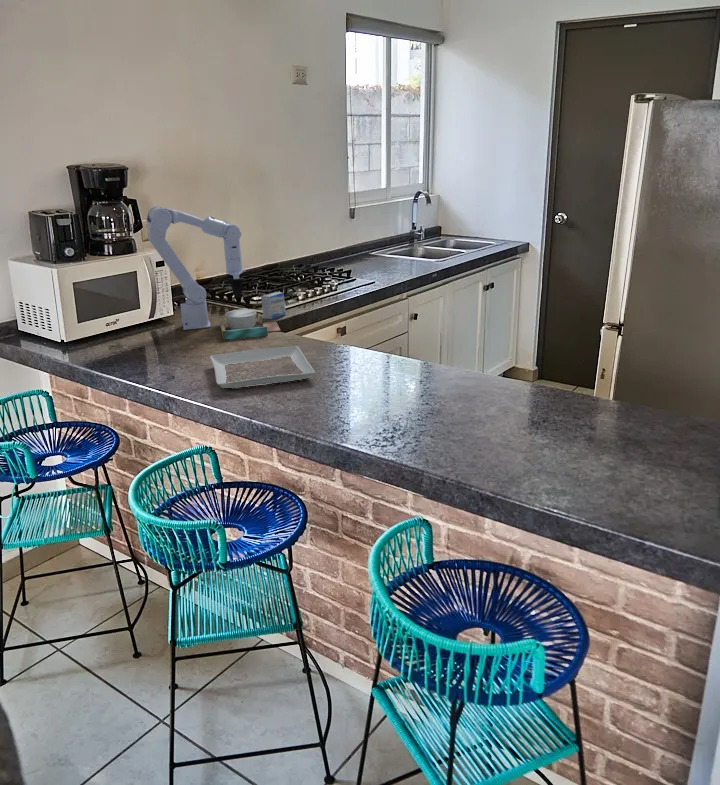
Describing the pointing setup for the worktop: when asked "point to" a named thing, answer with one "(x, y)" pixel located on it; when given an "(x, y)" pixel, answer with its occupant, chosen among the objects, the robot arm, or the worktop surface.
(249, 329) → the lane
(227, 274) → the robot arm
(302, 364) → the square plate
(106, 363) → the worktop surface
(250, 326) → the ramekin
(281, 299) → the medicine box
